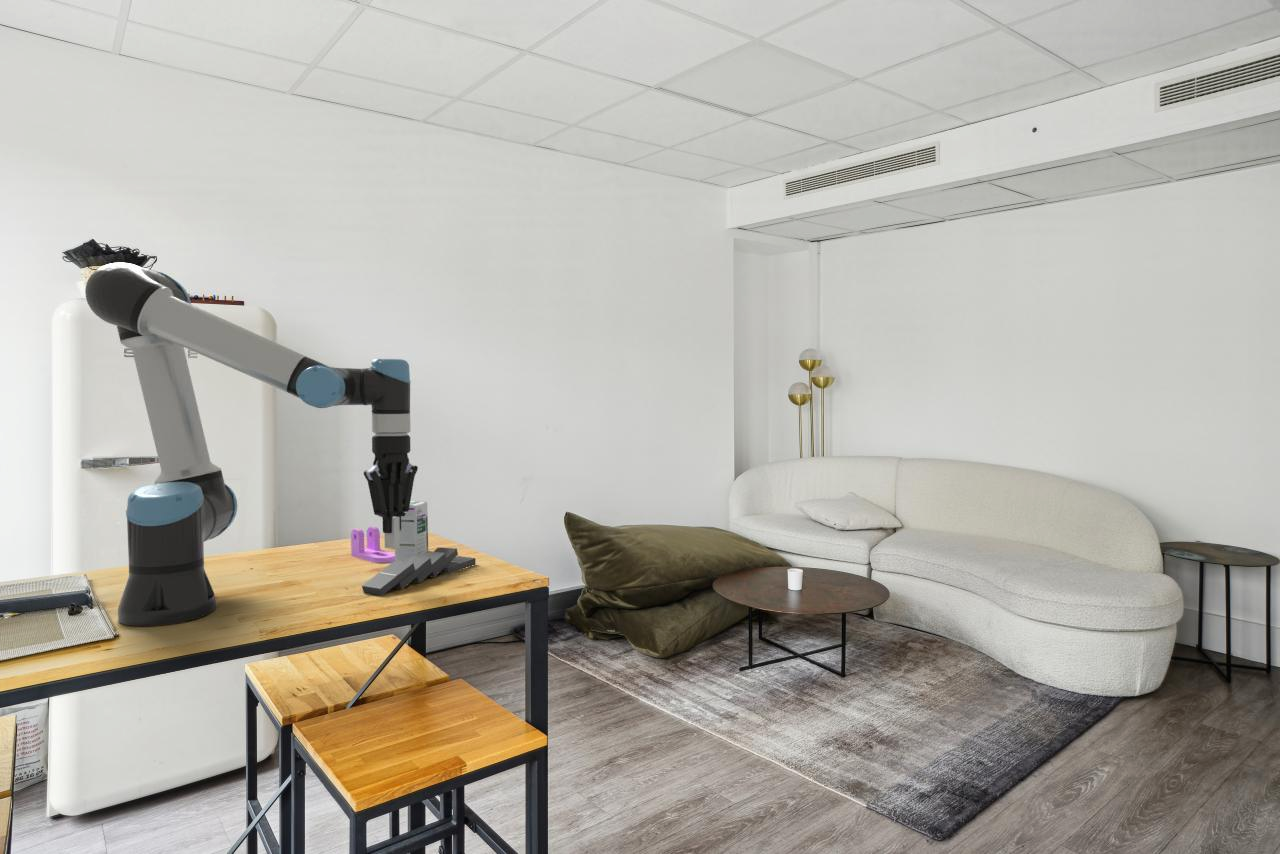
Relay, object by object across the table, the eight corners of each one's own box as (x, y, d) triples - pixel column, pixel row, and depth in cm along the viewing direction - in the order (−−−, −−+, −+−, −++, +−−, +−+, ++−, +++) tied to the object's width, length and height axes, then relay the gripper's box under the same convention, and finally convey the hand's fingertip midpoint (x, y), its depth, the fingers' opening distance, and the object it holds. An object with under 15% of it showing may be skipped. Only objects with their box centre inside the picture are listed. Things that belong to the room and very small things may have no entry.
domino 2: (381, 580, 159) (411, 555, 167) (383, 587, 159) (413, 562, 168) (399, 582, 157) (430, 557, 165) (401, 589, 157) (431, 564, 166)
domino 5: (430, 565, 172) (458, 555, 181) (430, 572, 172) (458, 562, 181) (447, 567, 170) (475, 558, 179) (447, 575, 170) (475, 565, 179)
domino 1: (361, 585, 154) (395, 560, 163) (363, 592, 155) (397, 567, 163) (380, 588, 152) (413, 562, 160) (382, 595, 153) (415, 569, 161)
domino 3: (398, 574, 163) (426, 550, 172) (400, 581, 164) (428, 557, 172) (417, 576, 161) (445, 552, 170) (419, 583, 162) (446, 559, 170)
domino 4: (413, 569, 168) (438, 547, 177) (415, 576, 168) (439, 553, 177) (432, 570, 166) (456, 548, 175) (434, 577, 167) (458, 554, 176)
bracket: (351, 556, 187) (350, 528, 187) (372, 552, 192) (371, 525, 191) (379, 564, 179) (379, 535, 179) (400, 560, 183) (400, 532, 183)
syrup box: (417, 567, 176) (416, 505, 176) (393, 565, 178) (393, 503, 177) (428, 561, 182) (428, 501, 181) (406, 560, 183) (405, 500, 182)
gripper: (400, 432, 164) (401, 540, 165) (353, 435, 153) (354, 551, 154) (427, 433, 161) (428, 544, 162) (380, 436, 149) (381, 556, 150)
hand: (392, 547), depth 158 cm, fingers closed
